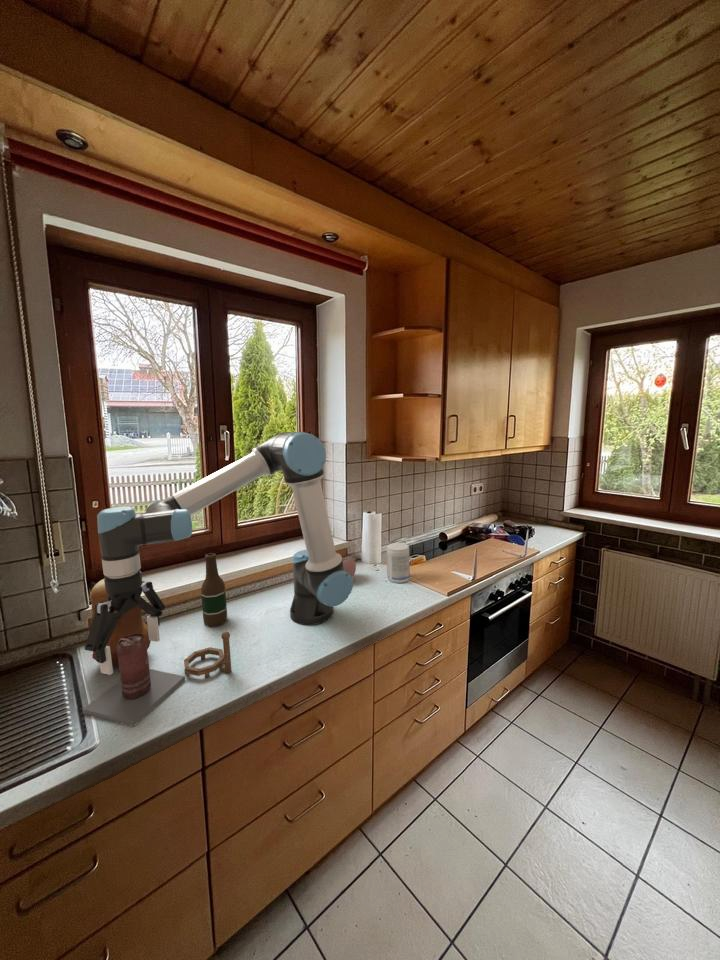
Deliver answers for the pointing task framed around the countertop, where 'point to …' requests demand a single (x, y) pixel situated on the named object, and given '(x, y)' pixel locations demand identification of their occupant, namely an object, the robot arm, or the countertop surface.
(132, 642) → the can
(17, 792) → the countertop surface
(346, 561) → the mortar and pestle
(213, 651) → the ring stand
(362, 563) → the countertop surface
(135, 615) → the butternut squash
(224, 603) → the beer bottle
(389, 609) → the countertop surface
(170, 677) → the plate
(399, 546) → the supplement tub
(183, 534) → the robot arm
